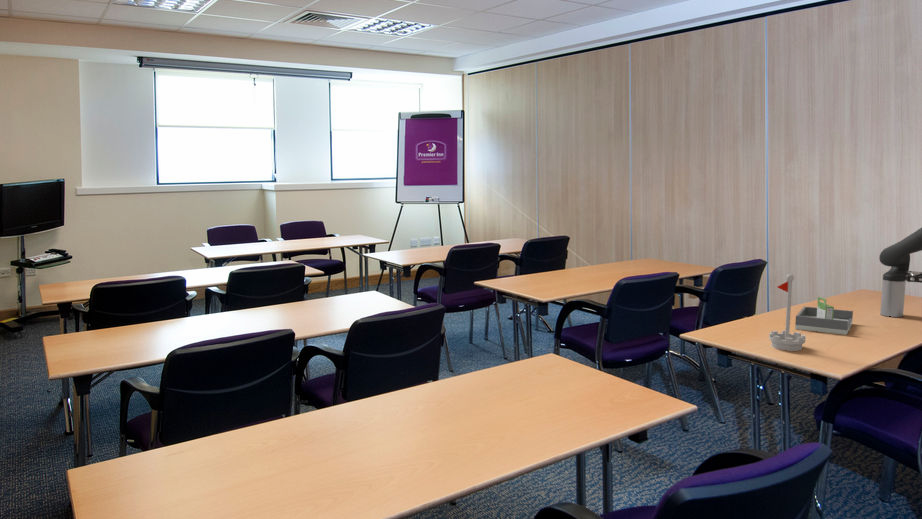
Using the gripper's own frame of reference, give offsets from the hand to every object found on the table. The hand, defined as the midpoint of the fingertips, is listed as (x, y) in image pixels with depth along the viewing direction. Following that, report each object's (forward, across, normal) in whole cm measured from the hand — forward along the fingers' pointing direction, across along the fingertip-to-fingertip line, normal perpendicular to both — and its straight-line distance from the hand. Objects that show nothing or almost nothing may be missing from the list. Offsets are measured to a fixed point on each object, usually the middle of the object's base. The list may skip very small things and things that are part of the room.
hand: (895, 275), depth 276 cm
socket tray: (+25, +5, +25) cm, 36 cm away
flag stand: (+33, +51, +25) cm, 65 cm away
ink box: (+25, +5, +25) cm, 36 cm away
